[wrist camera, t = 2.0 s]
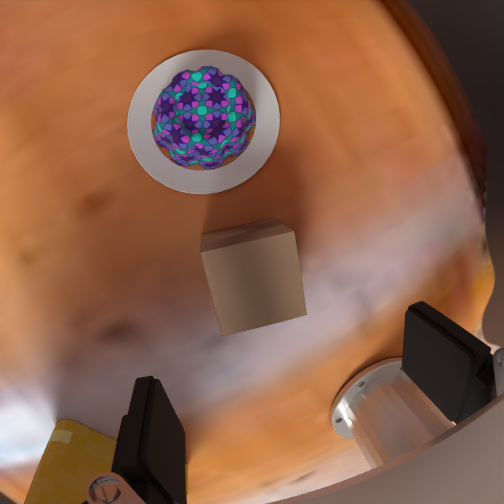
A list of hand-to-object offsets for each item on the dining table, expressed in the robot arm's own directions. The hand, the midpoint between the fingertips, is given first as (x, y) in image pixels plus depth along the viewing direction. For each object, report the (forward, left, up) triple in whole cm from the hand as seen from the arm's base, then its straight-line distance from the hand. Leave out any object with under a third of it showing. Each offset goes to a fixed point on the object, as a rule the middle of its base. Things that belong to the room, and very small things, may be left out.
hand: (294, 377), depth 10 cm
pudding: (+1, -12, -17) cm, 20 cm away
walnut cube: (0, 0, -16) cm, 16 cm away
